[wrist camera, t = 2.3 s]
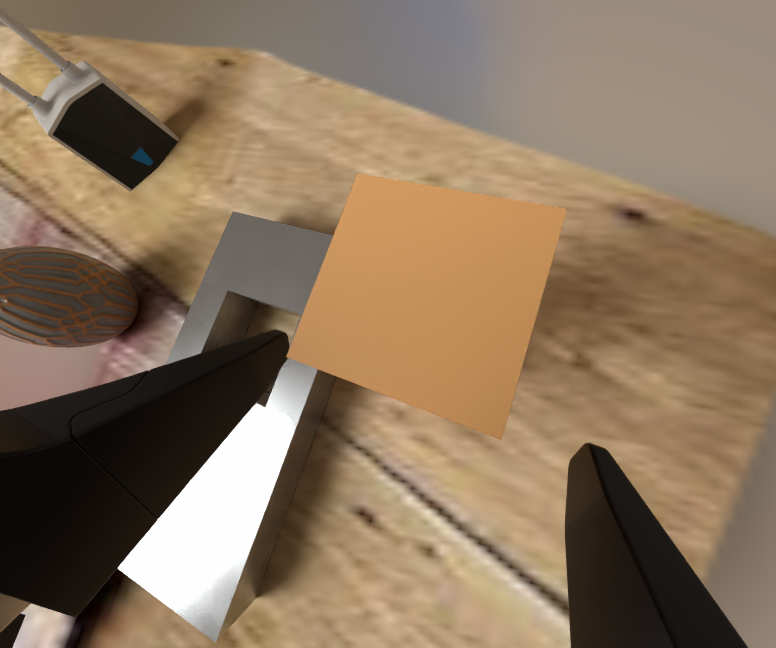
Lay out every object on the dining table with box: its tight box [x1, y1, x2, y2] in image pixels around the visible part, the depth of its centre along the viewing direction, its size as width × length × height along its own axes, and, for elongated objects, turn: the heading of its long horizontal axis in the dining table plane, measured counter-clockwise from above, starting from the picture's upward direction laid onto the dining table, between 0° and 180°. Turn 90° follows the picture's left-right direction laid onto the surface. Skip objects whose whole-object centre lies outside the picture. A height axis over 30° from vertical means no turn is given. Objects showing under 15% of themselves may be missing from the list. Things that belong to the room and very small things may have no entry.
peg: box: [286, 174, 567, 439], centre depth 11 cm, size 4×4×13 cm
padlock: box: [0, 6, 180, 191], centre depth 20 cm, size 7×4×15 cm, turn 135°
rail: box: [118, 212, 336, 642], centre depth 18 cm, size 22×10×3 cm, turn 160°
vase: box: [0, 246, 138, 348], centre depth 20 cm, size 7×7×9 cm
